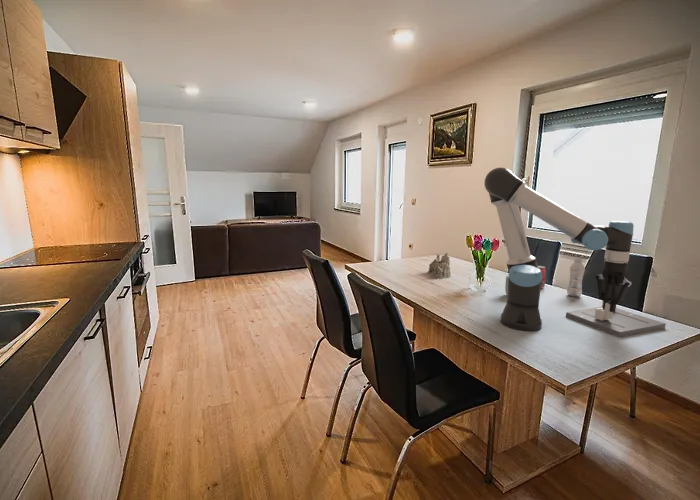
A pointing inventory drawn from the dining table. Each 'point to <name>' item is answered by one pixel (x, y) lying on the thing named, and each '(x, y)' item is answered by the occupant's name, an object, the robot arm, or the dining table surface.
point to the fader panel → (617, 322)
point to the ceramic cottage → (440, 267)
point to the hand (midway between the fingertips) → (607, 318)
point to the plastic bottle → (576, 278)
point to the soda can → (543, 275)
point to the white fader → (599, 314)
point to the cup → (506, 284)
